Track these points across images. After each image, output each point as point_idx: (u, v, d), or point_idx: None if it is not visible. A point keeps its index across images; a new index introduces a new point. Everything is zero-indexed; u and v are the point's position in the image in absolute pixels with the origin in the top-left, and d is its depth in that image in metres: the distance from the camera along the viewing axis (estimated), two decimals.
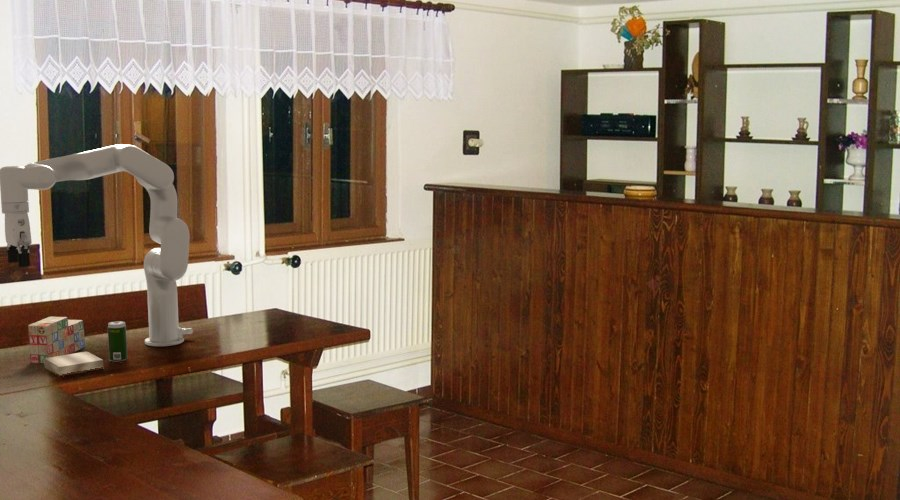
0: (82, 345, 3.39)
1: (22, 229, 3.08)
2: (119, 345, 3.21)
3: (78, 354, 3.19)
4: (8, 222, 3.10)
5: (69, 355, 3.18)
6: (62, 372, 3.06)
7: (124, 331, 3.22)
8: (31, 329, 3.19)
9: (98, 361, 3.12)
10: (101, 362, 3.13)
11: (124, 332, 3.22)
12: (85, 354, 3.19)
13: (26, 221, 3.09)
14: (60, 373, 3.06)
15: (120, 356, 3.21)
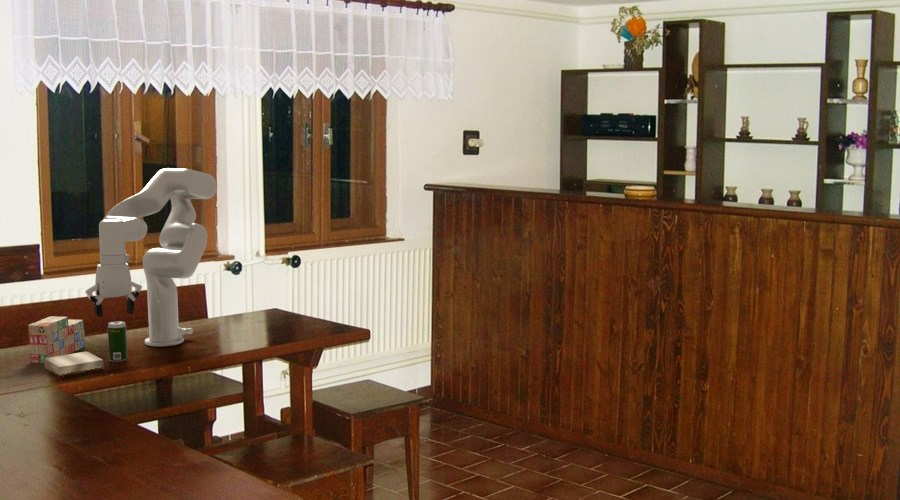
0: (82, 345, 3.39)
1: None
2: (119, 345, 3.21)
3: (78, 354, 3.19)
4: (119, 274, 3.18)
5: (69, 355, 3.18)
6: (62, 372, 3.06)
7: (124, 331, 3.22)
8: (31, 329, 3.19)
9: (98, 361, 3.12)
10: (101, 362, 3.13)
11: (124, 332, 3.22)
12: (85, 354, 3.19)
13: None
14: (60, 373, 3.06)
15: (120, 356, 3.21)
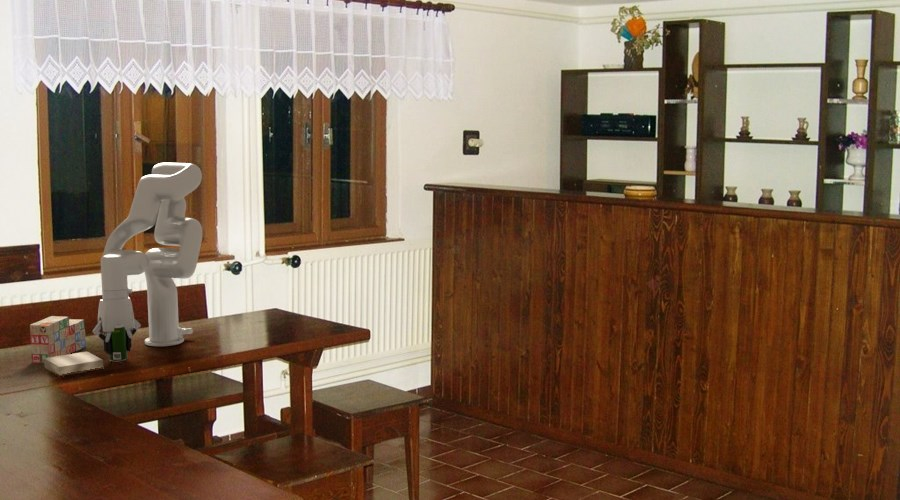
0: (83, 345, 3.40)
1: None
2: (119, 345, 3.21)
3: (78, 354, 3.19)
4: (121, 308, 3.20)
5: (69, 355, 3.18)
6: (62, 372, 3.06)
7: (124, 331, 3.22)
8: (33, 329, 3.20)
9: (98, 361, 3.12)
10: (101, 362, 3.13)
11: (124, 332, 3.22)
12: (85, 354, 3.19)
13: None
14: (60, 373, 3.06)
15: (119, 356, 3.21)
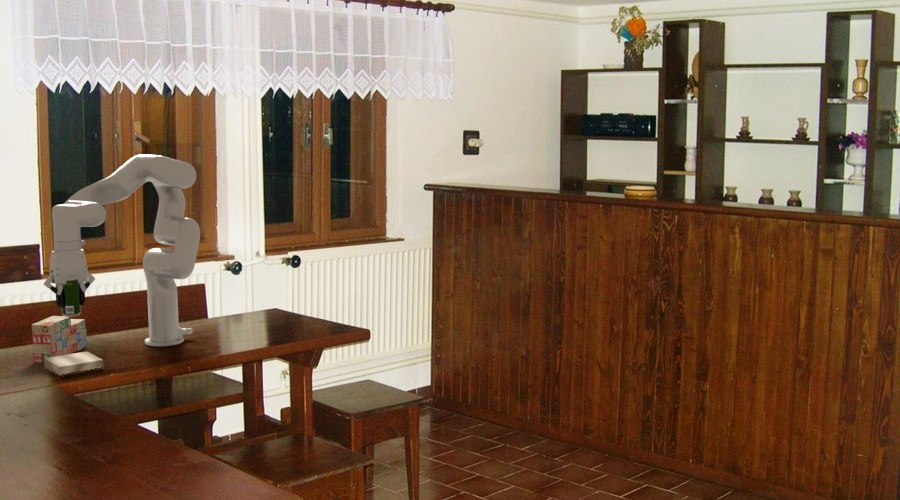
0: (84, 344, 3.40)
1: None
2: (72, 298, 3.09)
3: (78, 354, 3.19)
4: (74, 260, 3.08)
5: (69, 355, 3.18)
6: (62, 372, 3.06)
7: (77, 284, 3.10)
8: (34, 328, 3.20)
9: (98, 361, 3.12)
10: (101, 362, 3.13)
11: (77, 285, 3.10)
12: (85, 354, 3.19)
13: None
14: (60, 373, 3.06)
15: (72, 310, 3.10)
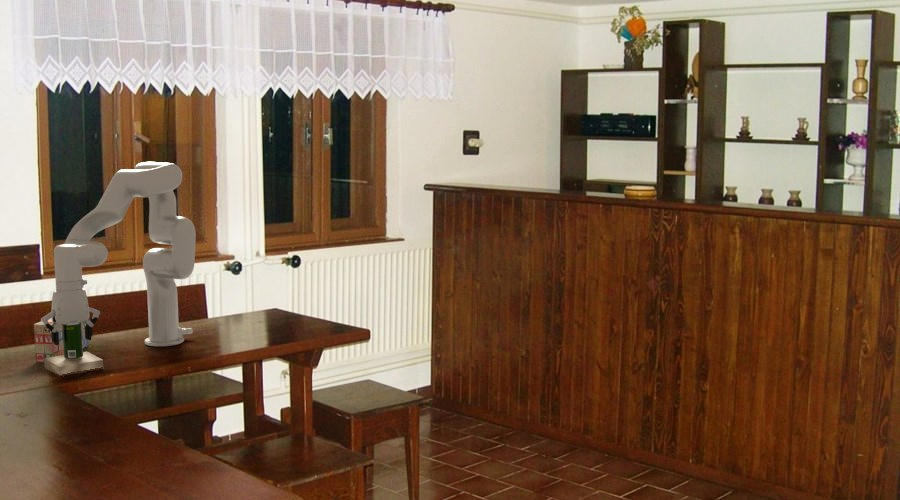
0: (86, 344, 3.41)
1: None
2: (74, 342, 3.11)
3: None
4: (76, 300, 3.10)
5: None
6: (62, 372, 3.06)
7: (79, 328, 3.12)
8: (37, 328, 3.20)
9: (98, 361, 3.12)
10: (101, 362, 3.13)
11: (79, 329, 3.12)
12: (85, 354, 3.19)
13: None
14: (60, 373, 3.06)
15: (74, 354, 3.12)
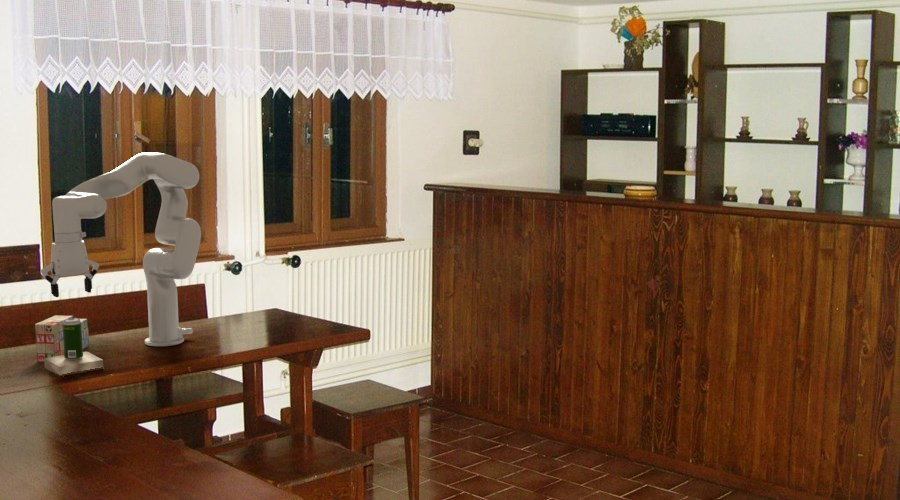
0: (86, 344, 3.41)
1: None
2: (74, 342, 3.11)
3: None
4: (75, 252, 3.09)
5: None
6: (62, 372, 3.06)
7: (79, 328, 3.12)
8: (38, 328, 3.21)
9: (98, 361, 3.12)
10: (101, 362, 3.13)
11: (80, 329, 3.12)
12: (85, 354, 3.19)
13: None
14: (60, 373, 3.06)
15: (75, 354, 3.12)
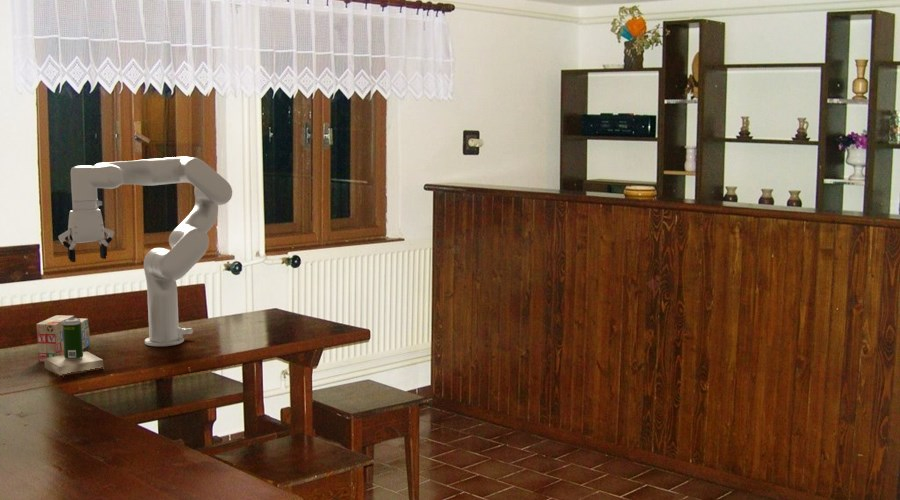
0: (87, 343, 3.41)
1: None
2: (74, 342, 3.11)
3: None
4: (91, 219, 3.24)
5: None
6: (62, 372, 3.06)
7: (79, 328, 3.12)
8: (39, 328, 3.21)
9: (98, 361, 3.12)
10: (101, 362, 3.13)
11: (80, 329, 3.12)
12: (85, 354, 3.19)
13: None
14: (60, 373, 3.06)
15: (75, 354, 3.12)
